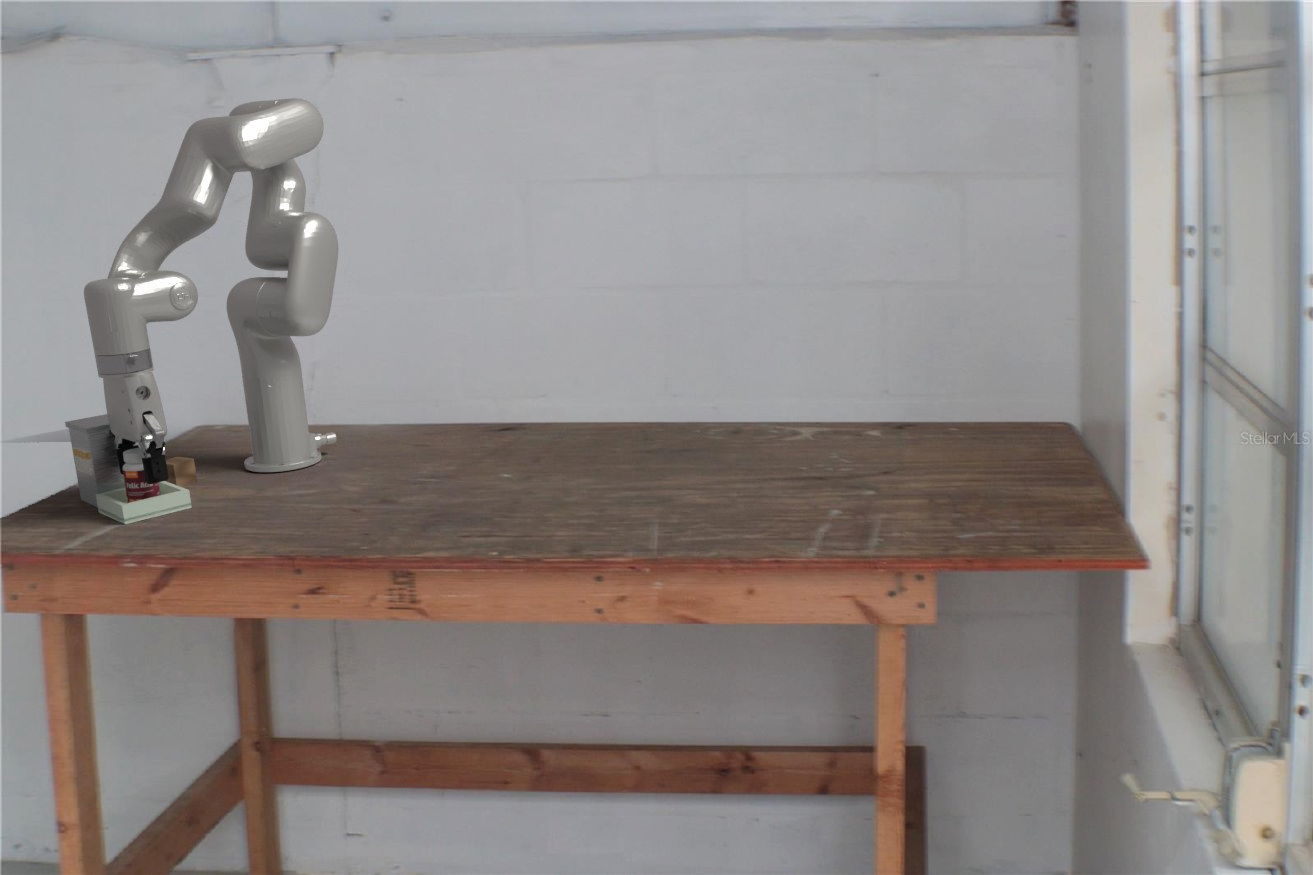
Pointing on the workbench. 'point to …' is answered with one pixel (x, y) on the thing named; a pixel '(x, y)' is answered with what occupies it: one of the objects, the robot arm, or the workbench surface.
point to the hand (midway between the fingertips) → (144, 476)
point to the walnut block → (181, 471)
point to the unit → (95, 457)
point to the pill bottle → (137, 477)
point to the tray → (143, 503)
